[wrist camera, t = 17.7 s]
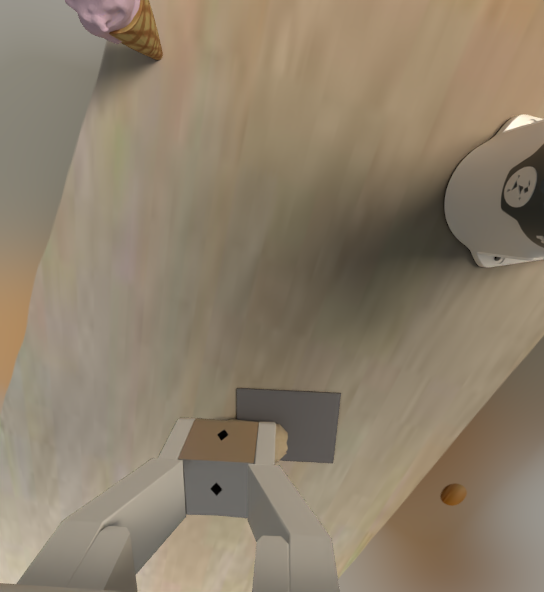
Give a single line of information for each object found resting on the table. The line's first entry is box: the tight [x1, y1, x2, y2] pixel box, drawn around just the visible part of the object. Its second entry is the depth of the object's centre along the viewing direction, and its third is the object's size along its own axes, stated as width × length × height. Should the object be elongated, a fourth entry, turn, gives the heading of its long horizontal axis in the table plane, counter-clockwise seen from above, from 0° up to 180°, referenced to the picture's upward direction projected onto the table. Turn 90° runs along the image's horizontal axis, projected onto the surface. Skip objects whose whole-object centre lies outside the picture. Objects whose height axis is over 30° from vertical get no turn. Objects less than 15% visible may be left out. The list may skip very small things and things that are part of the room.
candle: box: [228, 419, 288, 462], centre depth 47 cm, size 6×6×10 cm
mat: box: [237, 388, 341, 463], centre depth 49 cm, size 17×14×1 cm
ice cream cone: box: [65, 0, 163, 60], centre depth 28 cm, size 7×6×15 cm
